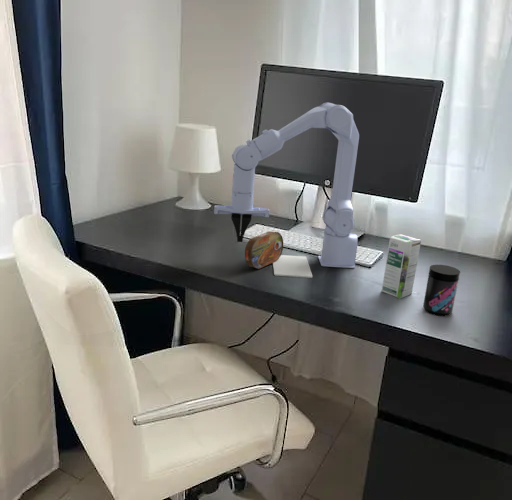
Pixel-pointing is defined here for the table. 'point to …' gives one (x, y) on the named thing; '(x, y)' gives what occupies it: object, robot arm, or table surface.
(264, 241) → the tin
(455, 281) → the supplement container
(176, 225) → the table surface
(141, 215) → the table surface
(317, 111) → the robot arm
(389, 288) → the syrup box
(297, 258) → the white flat panel
